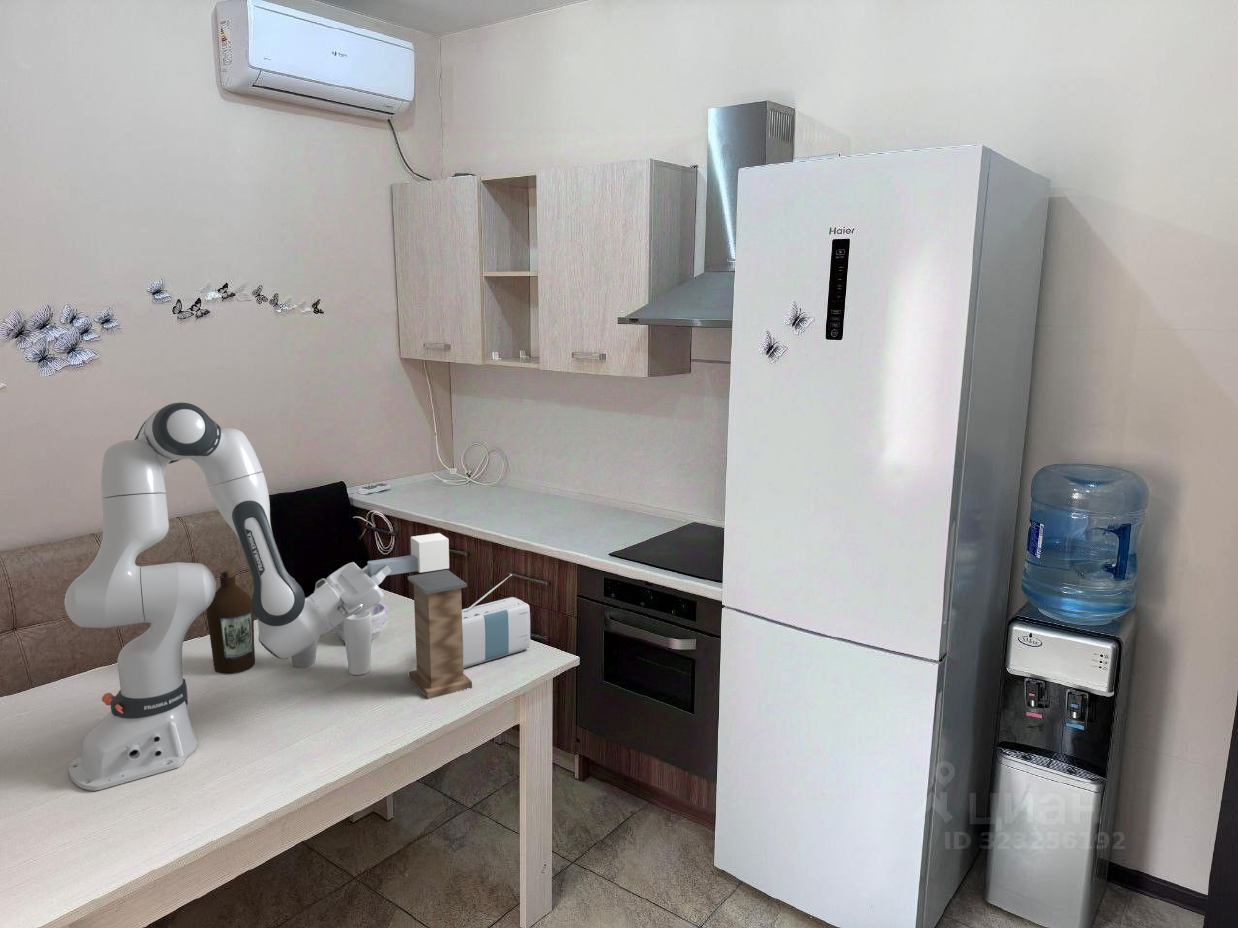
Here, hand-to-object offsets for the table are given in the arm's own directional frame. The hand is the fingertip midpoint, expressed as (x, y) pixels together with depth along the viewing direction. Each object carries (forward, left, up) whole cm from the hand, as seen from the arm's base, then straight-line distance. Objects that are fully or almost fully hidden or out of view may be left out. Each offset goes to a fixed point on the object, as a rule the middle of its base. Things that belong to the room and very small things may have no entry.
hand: (386, 565), depth 191 cm
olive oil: (-18, +42, -32) cm, 56 cm away
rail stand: (+12, -2, -32) cm, 34 cm away
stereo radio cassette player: (+30, +1, -32) cm, 44 cm away
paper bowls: (+14, +37, -32) cm, 51 cm away
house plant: (-6, +30, -32) cm, 44 cm away
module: (+5, -1, -2) cm, 5 cm away
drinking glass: (+2, +17, -32) cm, 36 cm away
